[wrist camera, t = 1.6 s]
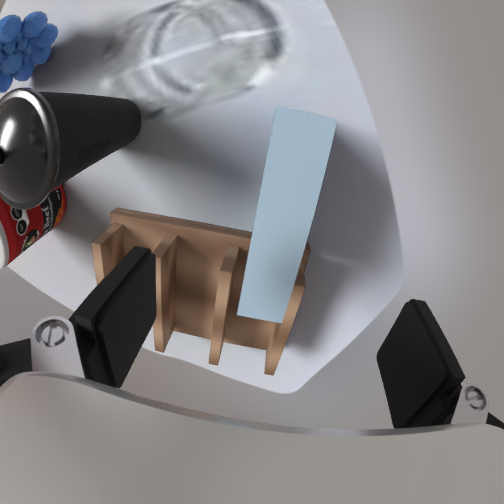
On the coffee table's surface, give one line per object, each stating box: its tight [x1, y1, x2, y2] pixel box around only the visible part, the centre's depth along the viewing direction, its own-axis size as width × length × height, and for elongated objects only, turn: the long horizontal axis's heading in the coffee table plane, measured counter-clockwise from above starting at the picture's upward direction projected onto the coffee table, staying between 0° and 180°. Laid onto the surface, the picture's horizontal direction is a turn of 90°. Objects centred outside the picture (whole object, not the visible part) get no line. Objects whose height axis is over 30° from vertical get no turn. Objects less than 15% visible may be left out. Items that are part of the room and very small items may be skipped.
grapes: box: [0, 11, 58, 93], centre depth 14 cm, size 12×7×12 cm, turn 114°
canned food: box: [0, 184, 66, 270], centre depth 23 cm, size 8×8×11 cm
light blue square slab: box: [237, 106, 337, 323], centre depth 20 cm, size 12×3×12 cm, turn 170°
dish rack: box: [92, 208, 310, 375], centre depth 29 cm, size 14×20×6 cm
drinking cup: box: [0, 88, 141, 210], centre depth 15 cm, size 8×8×20 cm
